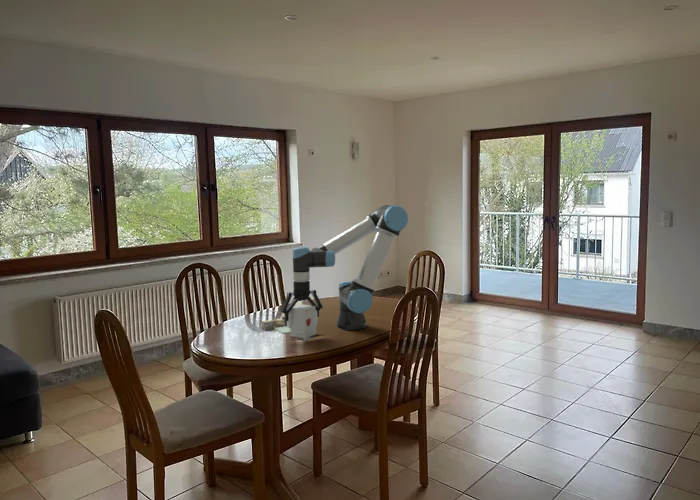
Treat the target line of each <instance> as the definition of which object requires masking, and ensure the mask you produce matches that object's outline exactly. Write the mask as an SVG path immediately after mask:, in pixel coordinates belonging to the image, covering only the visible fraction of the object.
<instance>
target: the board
mask: <svg viewBox="0 0 700 500" xmlns="http://www.w3.org/2000/svg"><path fill="white" fill-rule="evenodd" d="M266 321H267V320H266ZM271 330H274V328H273V321H267V322H264V329H263V331H271Z"/></svg>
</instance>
